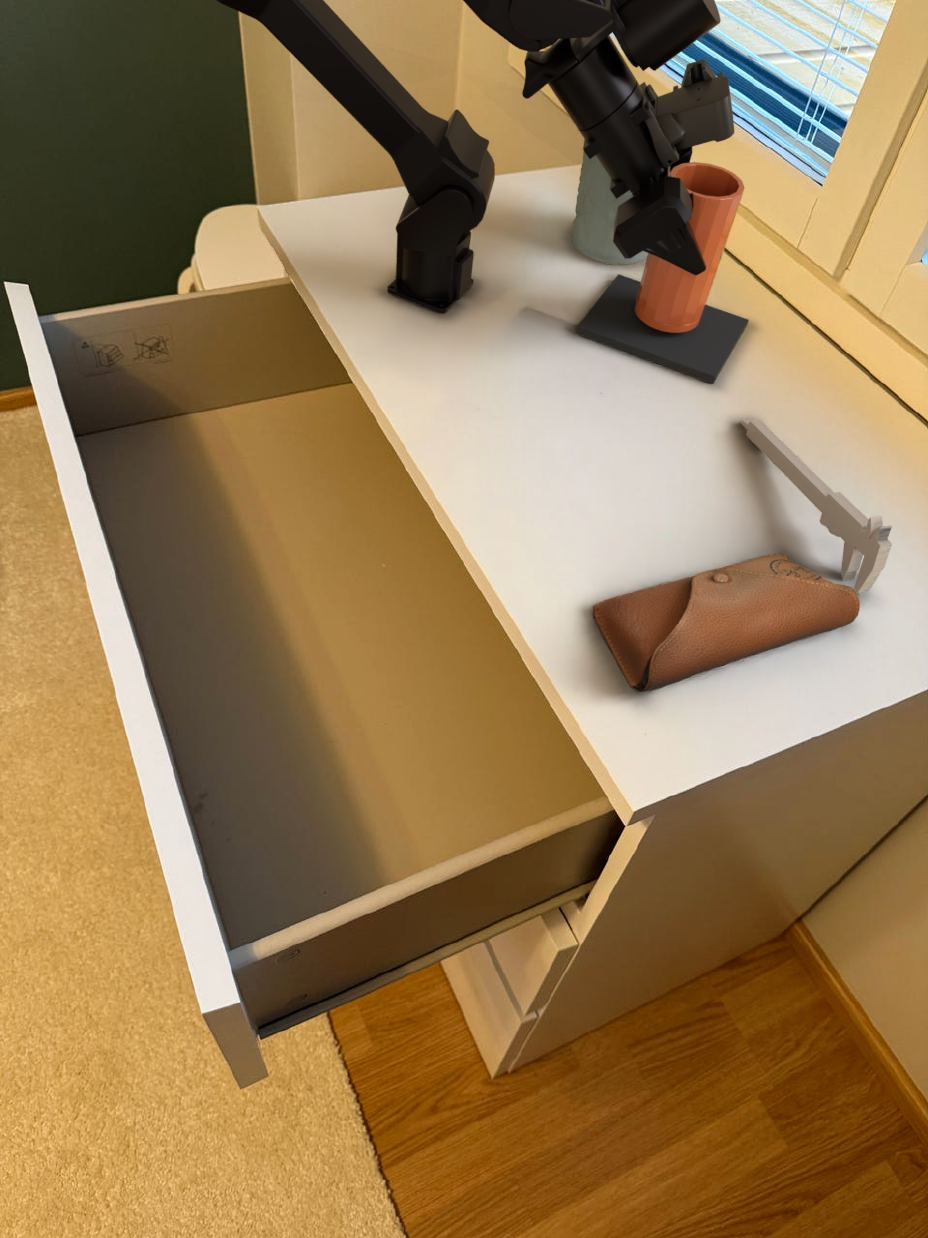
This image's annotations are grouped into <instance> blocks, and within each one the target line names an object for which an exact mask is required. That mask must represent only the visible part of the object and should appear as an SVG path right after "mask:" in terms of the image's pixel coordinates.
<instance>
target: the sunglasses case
mask: <svg viewBox="0 0 928 1238" xmlns="http://www.w3.org/2000/svg"><path fill="white" fill-rule="evenodd" d="M853 589H854V588H852V587H851V586H848V585H846V584H841V583H835V582H832V581H831V580H828V579H827V578H825V577H823V576H822V575H819V574H818V573H815V571H814V572H813V571H812V570H810V569H808V568H806V567H804V566H803V565H801V564H799V563H797V562H795V561H793V560H791V558H790V557H789V556H788V555H787V554H786V553H771V554H767V555H762V556H759V557H755V558H751V559H748V560H744V561H741V562H736V563H733V564H730V565H726V566H723V567H719V568H718V567H717V568H713V569H710V570H705V571H700V572H698V573H696V574H694V575H691V576H687V577H684V578H680V579H677V580H672V581H668V582H664V583H661V584H657V585H654V586H650V587H646V588H643V589H639V590H635V591H632V592H628V593H624V594H619V595H616V596H614V597H610V598H607V599H604V600H602V601H599V602H598V603H595V604H594V605H593V606H592V607H593V608H592V617H593V619H594V621H595V623H596V625H597V627H598V629H599V632H600V634H601V637H602V638H603V640H604V643H605V644H606V647H607V648H608V649H609V651H610V653H611V655H612V657H613V658H614V661H615V663H616V664H617V666H618V667H619V670H620V671H621V673H622V675H623V676H624V678H625V680H626V682H627V683H628V685H629V687H630V688H632V689H633V690H634V691H636V692H639V693H646V692H652V691H656V690H659V689H662V688H664V687H668V686H670V685H673V684H677V683H679V682H681V681H683V680H687V679H689V678H691V677H694V676H697V675H700V674H703V673H706V672H709V671H712V670H715V669H717V668H721V667H723V666H726V665H729V664H732V663H735V662H738V661H741V660H743V659H746V658H750V657H753V656H756V655H760V654H762V653H764V652H767V651H771V650H773V649H776V648H777V649H778V648H779V647H782V646H787V645H789V644H791V643H795V642H799V641H801V640H805V639H807V638H811V637H814V636H818V635H820V634H825V633H827V632H831V631H834V630H837V629H839V628H843V627H846V626H848V625H851V624H852V623H853V622H854V621H855V620H856V618H858V616H859V612H860V608H861V607H860V606H861V604H860V598H859V596H858V593H856V592H855V591H854V590H853Z"/></svg>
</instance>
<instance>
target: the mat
mask: <svg viewBox="0 0 928 1238" xmlns="http://www.w3.org/2000/svg"><path fill="white" fill-rule="evenodd" d="M640 282H641V280H640V281H639V280H636V279H634V278H630V277H629V276H625V275H622V274H617V275H616V277H615V278H614V279H613V280H612V281H611V282H610V284H609V285H608V287H607V288H606V289H605V290H604V292H603V293H602V294H601V295H600V297H598V299H597V300H596V302H595V303H594V304H593V305H592V307H591V308H590V309H589V310H588V312H587V313H586V314H585V315H584V317H583V318H582V319H581V320H580V322H579V323H578V325H577V326H576V329H575V333H576V334H577V335H581V336H583V337H585V338H588V339H591V340H594V341H596V342H599V343H601V344H605V345H607V346H610V347H613V348H614V349H619V350H620V351H623V352H626V353H629V354H631V355H635V356H637V357H639V358H642V359H645V360H648V361H651V362H653V363H655V364H659V365H661V366H664V367H667V368H669V369H672V370H675V371H678V372H680V373H682V374H685V375H689V376H691V377H694V378H696V379H699V380H701V381H704V382H708V383H710V384H714V383H715V382H716V381H717V379H718V377H719V375H720V374H721V372H722V370H723V369H724V366H726V363H727V361H728V359H729V358H730V356H731V355H732V352H733V351H734V349H735V348H736V346H737V344H738V343H739V341H740V339H741V337H742V336H743V333H744V332H745V330H746V329H747V327H748V325H749V321H750V319H749V318H745V317H743V316H739V315H736V314H734V313H731V312H728V311H725V310H722V309H719V308H716V307H713V306H710V305H708V304H706V305H705V308H704V311H703V313H702V316H701V319H700V322H699V324H698V325H697V326H696V327H695V328H694V329H692V330H690V331H687V332H681V333H671V332H665V331H661V330H657V329H655V328H652V327H650V326H648V325H647V324H645V323H644V322H642V321H641V320H640V319H639V318H638V316H637V315H636V313H635V303H636V297H637V293H638V289H639V286H640Z"/></svg>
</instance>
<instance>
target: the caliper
mask: <svg viewBox="0 0 928 1238" xmlns="http://www.w3.org/2000/svg"><path fill="white" fill-rule="evenodd" d="M740 424H741V425H742V426H743V427H744V428H745V429H746V434H745V435H746V437H747V438H748V439H749V440H750V441H751V442H752V443H753V444H754V445H755V446H756V447H757V448H758V449H759V450H760V451H761V453H762V454H764V455H765V456H766V457H767V458H768V459H769V461H771V462H772V464H773V465H775V467H776V468H778V470H779V471H780V472H781V473H782V474H784V476H786V478H787V479H788V480H789V481H790V482H791V483H792V484H793V485H794V486H795V487H796V488H797V489H798V490H799V491H800V492H801V493H802V494H803V496H804V497H806V499H807V500H809V502H811V504H812V505H813V506H814V507H815V508H816V509H817V510H818V511H819V512H820V513H821V514H820V518H819V523H820V524H821V525H822V526H824V527H826V528H827V530H828V532H829V533H830V534H831V535H834V536H835V537H837V538H840V539H841V540H843V548H842V549H843V550H842V558H841V567H840V576H841V580H842V581H851V580H854V579H855V578H856V580H855V583H854V586H853V588H852V589H853V590H854V591H855V592H856V594H858V593H859V594H860V593H864V592H869V591H870V590H871V589H872V588H873V586H874V584H875V583H876V582H877V580H878V578H879V576H880V575H881V573H882V572H883V570H884V569H885V567H886V564H887V562H888V558H889V554H890V553H891V549H892V545H893V543H892V542H891V541H890V540H889V536H890V533H891V530H892V528H893V525H883V524H884V523H883V522H884V521H883V515H879V516H873V517H869V518H868V517H867V516H866V515H865V514H864V513H863V512H861V510H860V509H859V508H858V507H856V505H854V504H853V502H851V501H850V500H849V499H848V498H847V497H846V496H845V495H844V494H843V493H841V491H838V492H837V491H836V492H834V491H833V490H832V489H831V487H829V486H828V485H827V484H826V483H825V482H824V481H823V480H822V479H821V478H820V477H819V476H818V475H817V474H816V473H815V472H814V471H813V470H812V469H811V467H809V466H808V465H807V464H806V463H805V462H804V461H803V460H802V459H801V458H800V457H799V456H798V455H797V454H796V453H795V452H794V451H792V449H791V448H790V447H789V446H788V445H786V444H785V442H784V441H782V440H781V439H780V437H778V436H777V434H775V433H774V432H773V430H772V429H770V427H768V426H767V425H766V424H765V423H764V422H763V421H762V420H761V419H753V418H750V419H741V420H740ZM857 572H858V573H857ZM856 575H857V577H856Z"/></svg>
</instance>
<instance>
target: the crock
mask: <svg viewBox="0 0 928 1238" xmlns="http://www.w3.org/2000/svg"><path fill="white" fill-rule="evenodd" d="M670 177H676V178H680V179H681V180H682V182H683V183H684V185H685V187H686V188H687V190H688V193H689V194H691V193H693V198H694V209H693V213H692V217H691V219H690V220H689V224H690V226H691V229H692V231H693V234H694V236H695V239H696V241H697V244H698V246H699V249H700V251H701V254H702V256H703V259H704V262H705V265H706V270H705V271H704V272H702V273H700V274H699V275H693V274H691V273H689V272H687V271H685V270H683V269H681V268H679V267H677V266H675V265H673V264H671V263H669V262H667V261H666V260H663V259H661V258H659V257H657V256H654V255H652V254H649V253H648V255H647V256H646V260H645V264H644V268H643V271H642V275H641V277H640V278H641V279H640V286H639V289H638V293H637V297H636V303H635V313H636V315H637V316H638V318H639V319H640V320H641V321H642V322H644V323H645V324H647V325H648V326H650V327H652V328H655V329H657V330H661V331H665V332H671V333H681V332H687V331H690V330H692V329H694V328H695V327H696V326H697V325H698V324H699V322H700V319H701V316H702V313H703V311H704V308H705V305H707V301H708V300H709V299H708V298H709V296H710V293H711V290H712V287H713V284H714V281H715V279H716V275H717V272H718V269H719V266H720V263H721V260H722V258H723V254H724V250H725V249H726V245H727V242H728V239H729V237H730V233H731V230H732V228H733V225H734V221H735V218H736V216H737V213H738V209H739V206H740V204H741V201H742V198H743V194H744V192H745V189H746V188H745V184H744V182H743V180H742V179H741V178H740V177H739V176H738V175H737V174H736V173H734V172H732V171H731V170H729V169H726V168H724V167H722V166H719V165H716V164H712V163H707V162H698V161H692V162H691V161H690V163H683V164H680V165H677V166H675V167H673V169H672V170H671V172H670Z"/></svg>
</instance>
